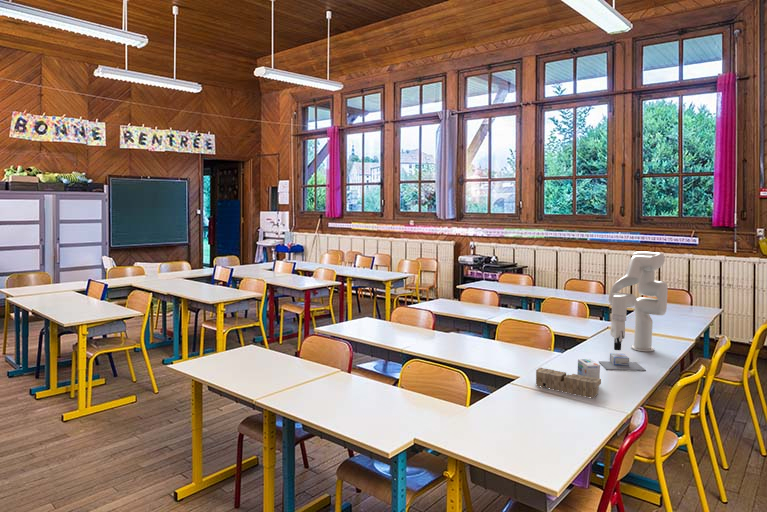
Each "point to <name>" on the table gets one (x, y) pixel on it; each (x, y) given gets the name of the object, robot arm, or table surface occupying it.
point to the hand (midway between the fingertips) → (617, 349)
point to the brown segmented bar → (567, 382)
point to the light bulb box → (588, 368)
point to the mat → (621, 366)
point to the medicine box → (619, 359)
